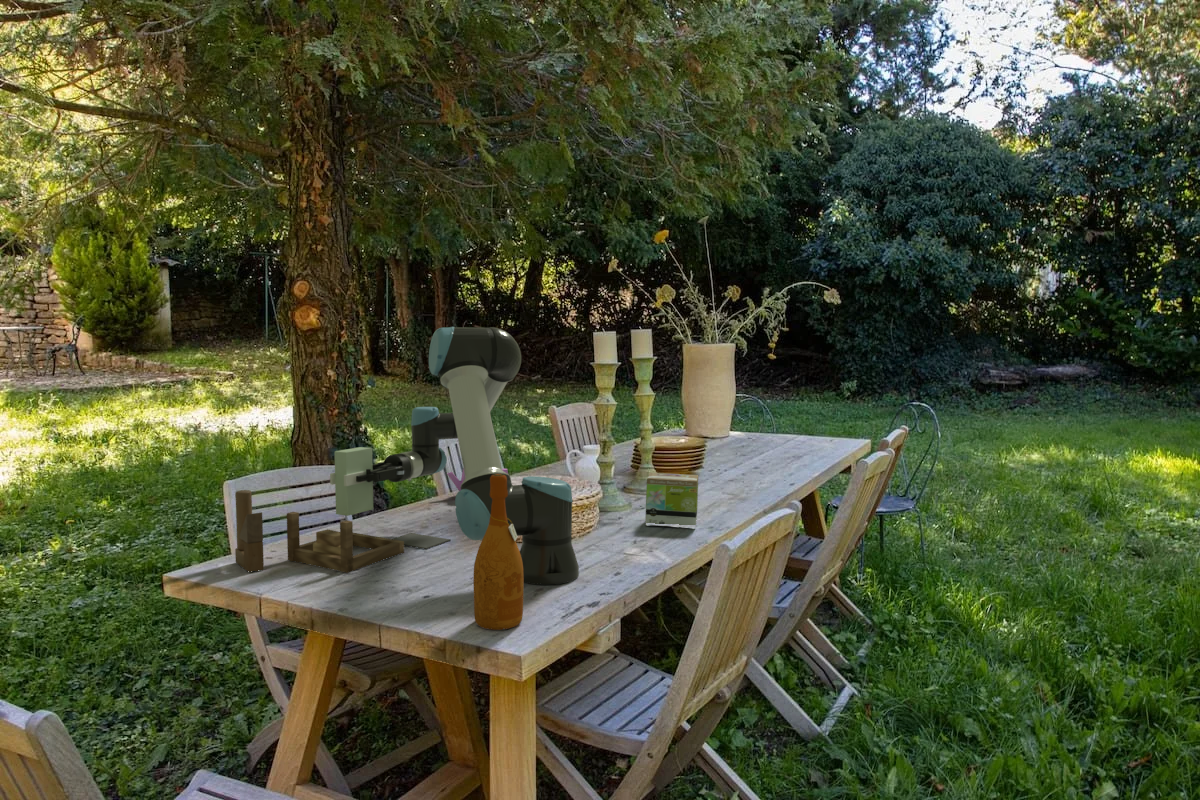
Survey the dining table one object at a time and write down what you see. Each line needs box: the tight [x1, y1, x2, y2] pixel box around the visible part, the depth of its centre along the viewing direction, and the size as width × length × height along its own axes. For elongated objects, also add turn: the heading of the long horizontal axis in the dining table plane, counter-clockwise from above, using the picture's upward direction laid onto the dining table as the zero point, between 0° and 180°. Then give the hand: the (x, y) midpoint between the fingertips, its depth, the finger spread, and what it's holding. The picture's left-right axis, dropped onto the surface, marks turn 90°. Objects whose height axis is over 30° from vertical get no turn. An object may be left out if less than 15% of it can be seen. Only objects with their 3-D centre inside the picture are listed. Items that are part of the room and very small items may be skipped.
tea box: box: [645, 472, 699, 525], centre depth 243 cm, size 15×10×15 cm
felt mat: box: [392, 532, 451, 550], centre depth 222 cm, size 14×10×1 cm
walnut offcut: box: [315, 528, 340, 547], centre depth 202 cm, size 7×4×3 cm, turn 57°
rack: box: [286, 511, 405, 574], centre depth 207 cm, size 20×20×12 cm
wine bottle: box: [473, 474, 525, 631], centre depth 161 cm, size 10×10×30 cm
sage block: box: [334, 446, 374, 517], centre depth 209 cm, size 4×9×16 cm, turn 152°
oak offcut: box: [313, 543, 341, 556], centre depth 202 cm, size 8×4×3 cm, turn 74°
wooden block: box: [234, 489, 265, 573], centre depth 197 cm, size 4×11×18 cm, turn 39°
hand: (338, 479), depth 204 cm, fingers closed on sage block, 4 cm apart
